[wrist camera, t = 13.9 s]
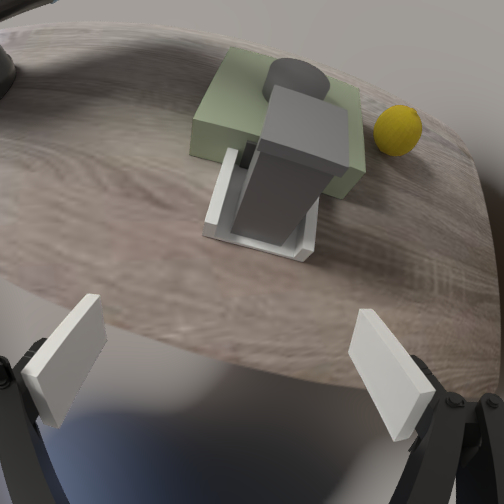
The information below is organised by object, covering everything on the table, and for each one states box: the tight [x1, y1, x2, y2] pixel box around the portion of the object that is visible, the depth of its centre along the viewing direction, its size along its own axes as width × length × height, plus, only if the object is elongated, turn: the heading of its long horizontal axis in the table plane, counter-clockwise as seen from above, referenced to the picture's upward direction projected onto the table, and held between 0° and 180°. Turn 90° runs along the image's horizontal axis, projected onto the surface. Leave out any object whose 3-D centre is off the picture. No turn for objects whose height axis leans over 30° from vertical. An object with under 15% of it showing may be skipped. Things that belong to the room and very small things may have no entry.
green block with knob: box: [189, 47, 366, 262], centre depth 28 cm, size 22×16×8 cm
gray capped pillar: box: [230, 85, 349, 247], centre depth 22 cm, size 5×5×12 cm
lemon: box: [373, 105, 422, 156], centre depth 32 cm, size 6×6×8 cm
